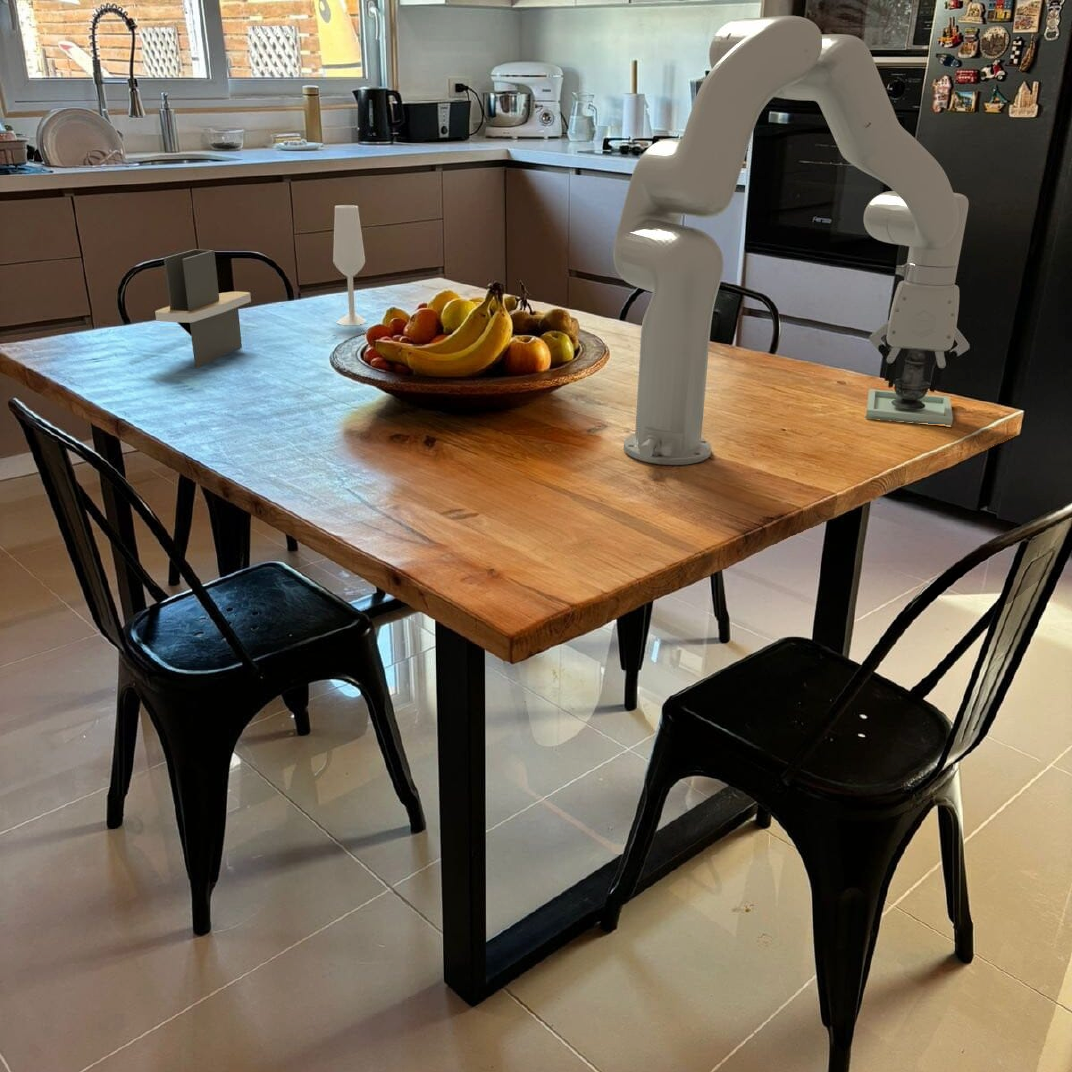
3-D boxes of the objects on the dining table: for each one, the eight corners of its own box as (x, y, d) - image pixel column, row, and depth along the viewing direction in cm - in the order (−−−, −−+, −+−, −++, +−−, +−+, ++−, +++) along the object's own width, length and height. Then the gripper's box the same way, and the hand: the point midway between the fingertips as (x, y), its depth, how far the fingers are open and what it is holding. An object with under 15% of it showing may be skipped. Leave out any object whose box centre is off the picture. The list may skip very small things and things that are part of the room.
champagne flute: (342, 326, 223) (336, 209, 213) (332, 320, 228) (325, 205, 219) (372, 323, 226) (367, 207, 216) (361, 317, 231) (356, 204, 222)
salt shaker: (914, 411, 169) (926, 337, 164) (882, 403, 173) (893, 330, 168) (934, 405, 172) (947, 333, 167) (902, 397, 176) (914, 326, 171)
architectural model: (201, 331, 218) (190, 233, 210) (315, 340, 213) (308, 240, 205) (89, 379, 184) (71, 264, 176) (221, 390, 179) (209, 273, 171)
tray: (951, 427, 166) (952, 418, 165) (865, 418, 169) (867, 409, 169) (948, 405, 177) (949, 396, 176) (868, 397, 181) (869, 389, 180)
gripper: (872, 275, 163) (855, 388, 170) (990, 283, 158) (968, 399, 166) (873, 267, 170) (857, 376, 177) (987, 275, 165) (965, 387, 172)
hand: (911, 386), depth 171 cm, fingers closed on salt shaker, 5 cm apart
